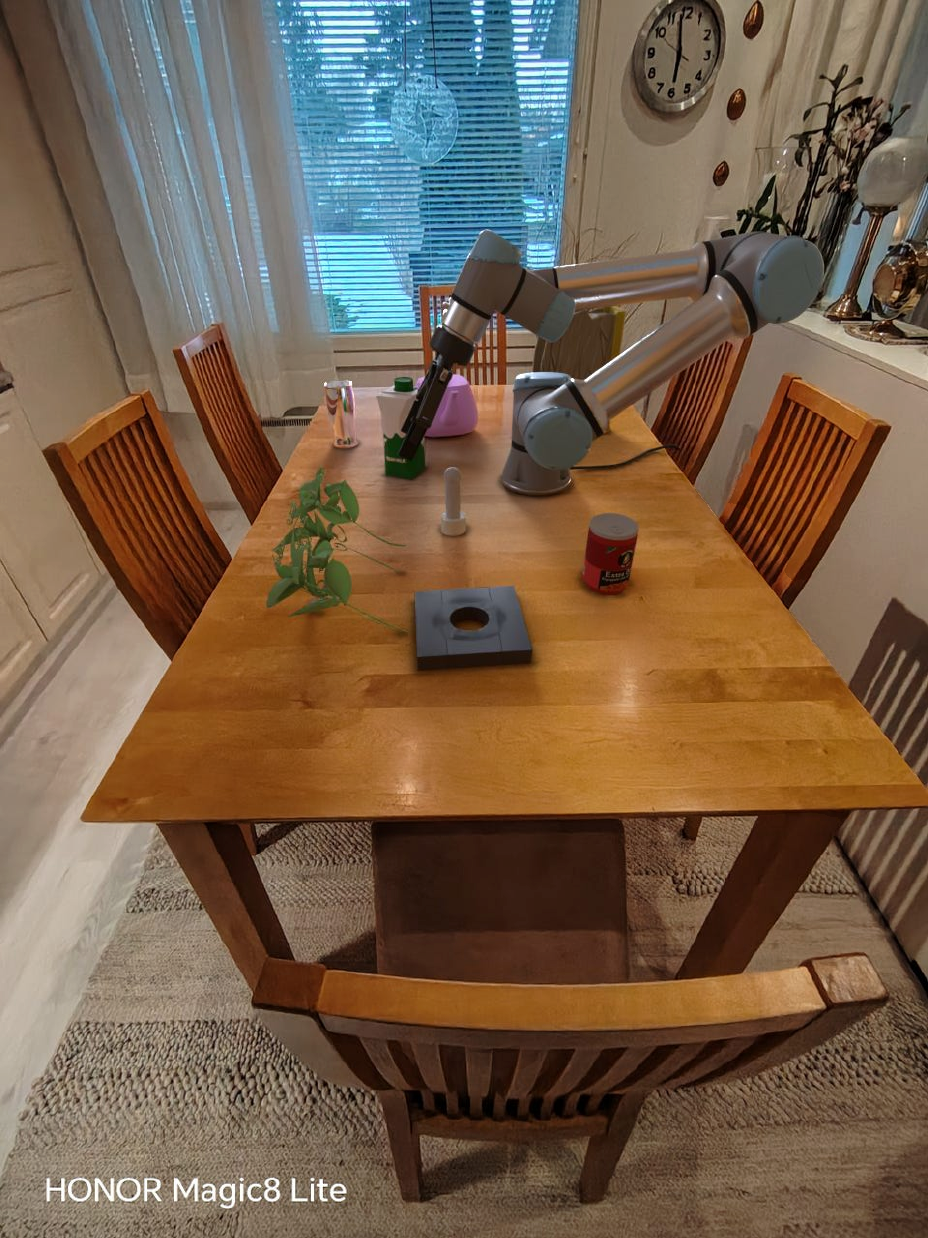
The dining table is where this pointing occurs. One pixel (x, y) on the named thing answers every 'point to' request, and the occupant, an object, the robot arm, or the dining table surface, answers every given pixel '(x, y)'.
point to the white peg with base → (452, 505)
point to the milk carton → (399, 428)
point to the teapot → (454, 409)
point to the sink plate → (462, 648)
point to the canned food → (609, 552)
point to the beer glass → (341, 412)
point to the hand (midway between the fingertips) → (405, 445)
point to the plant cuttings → (318, 548)
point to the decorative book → (583, 344)
